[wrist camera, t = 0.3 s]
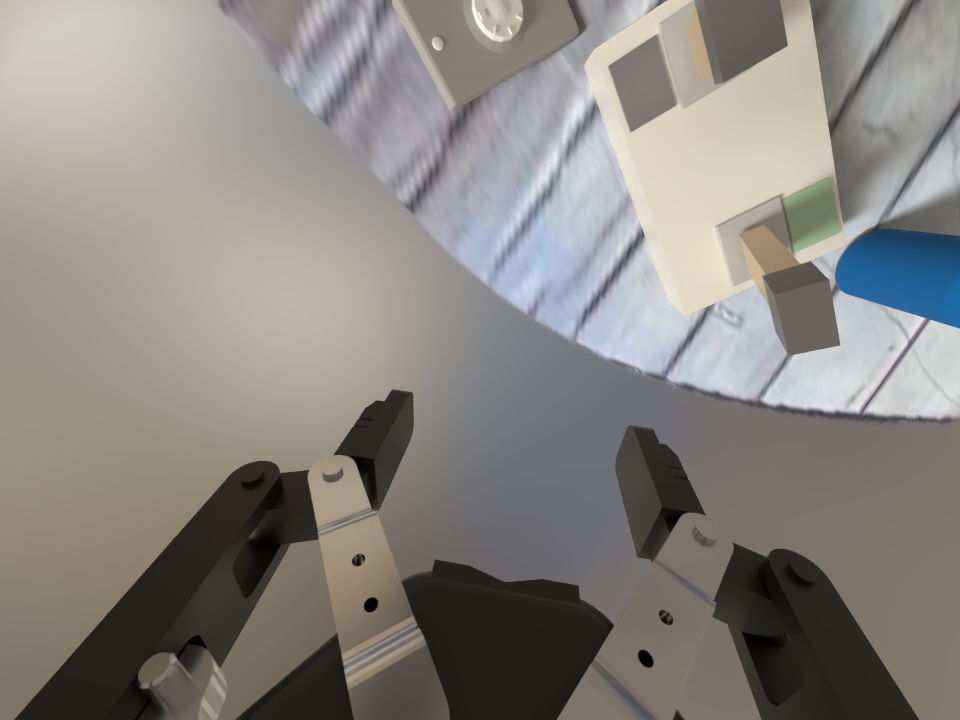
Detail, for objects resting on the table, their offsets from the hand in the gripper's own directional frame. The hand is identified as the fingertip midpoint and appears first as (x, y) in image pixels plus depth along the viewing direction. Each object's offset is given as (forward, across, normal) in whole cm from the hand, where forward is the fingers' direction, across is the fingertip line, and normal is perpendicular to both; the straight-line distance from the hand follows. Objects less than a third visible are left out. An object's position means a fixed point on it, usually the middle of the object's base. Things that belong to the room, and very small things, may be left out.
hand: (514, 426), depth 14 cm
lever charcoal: (+25, -10, -17) cm, 32 cm away
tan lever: (+24, -19, -4) cm, 31 cm away
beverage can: (+31, -34, -2) cm, 46 cm away
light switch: (+29, +6, -18) cm, 35 cm away
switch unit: (+30, -15, -10) cm, 35 cm away
